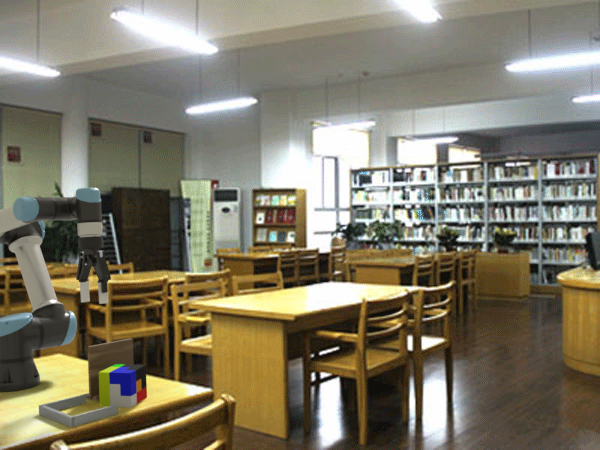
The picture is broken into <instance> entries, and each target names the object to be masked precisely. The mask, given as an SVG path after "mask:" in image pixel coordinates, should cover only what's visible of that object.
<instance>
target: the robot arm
mask: <svg viewBox="0 0 600 450" xmlns="http://www.w3.org/2000/svg"><path fill="white" fill-rule="evenodd" d="M74 220H75V221H77V223H76V224H77V225H76V226H77V227H76V228H77V236H78V239H77V242H78V249H79V250H83V251H79V252H78V262H77V263H78V265H77V269H76V270H77V271H76V277H75V278H76V280H77V281H78V282H79V290H80V292H79V293H80V303H88V302H90V301H91V299H90V298H91V296H90V279H89V276H90V273H91V269H92V267H93V270H94V272H95V275H96V276H97V279H98V280H97V284H98V285H97V287H98V288H97V291H98V303H99V305H102V304H109V303H110V302H109V286H108V282H109V281H111V280H112V275H111V272H110V270H109V266H108V263H107V258H106V253H105V252H106V251H105V250H100V249H103V248H104V237H103V236H101V235H103V229H104V225H103V215H102V198H101V191H100V189H99V188H97V187H82V188H81V187H80V188H77V189H76V190H75V195H74V196H70V197H69V196H68V197H66V196H65V197H64V196H62V197H61V196H59V197H58V196H53V197H51V196H49V197H48V196H47V197H46V196H45V197H43V196H21V197H17V198H16V199H15V201H14V202H13V205H9V206H7V207H5V208H1V209H0V245H2V244H3V245H7V247H8V250H9V251H10V252H11V253H14V254H15V257H16V259H17V261H16V262H18V263H17V264H18V267H19V270H20V273H21V276H22V279H23V281H24V282H23V283H24V286H25V289H26V291H27V295H28V298H29V302H30V305H31V307H32V308H31V309H32V310H31V312H20V313H12V314H8V315H5V316H2V317H0V392H14V391H20V390H26V389H30V388H33V387H35V386H38V385H39V384H40V383H41V376H40V372H39V370H38V368H37V365H36V362H35V359H34V351H39V350H44V349H49V348H55V347H58V348H59V347H61V346H65V345H69V344H71V343H72V342H73V341H74V339H75V337H76V333H77V328H78V323H77V317H76V315H75V313H74V312H73V311H72V310H66V307H65V304H64V303H63V302H60V301H58V297H57V295H56V292H55V289H54V285H53V283H52V280H51V275H50V274H49V271H48V267H47V264H46V261H45V259H44V255H43V252H42V249H41V245H42V243H43V241H44V239H45V235H46V231H45V229H46V227H45V223H44V222H45V221H65V222H71V221H74Z"/></svg>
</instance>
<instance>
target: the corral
mask: <svg viewBox="0 0 600 450" xmlns="http://www.w3.org/2000/svg"><path fill="white" fill-rule="evenodd" d="M87 399H88V398H87V394H86V393H84V394H78V395H74V396H70V397H67V398H63V399H59V400H55V401H51V402H47V403H43V404H39V405H38V415H40V416H43V417H45V418H46V419H47V418H48V419H50V420H52V421H54V422H57V423H59V424H61V425H64V426H66V427H69V428H73V427H77V426H80V425H83V424H88V423H91V422H93V421H94V422H95V421H97V420H101V419H104V418H108V417H112V416H115V415H118V414H119V407H118V405H117V404H115V405H111V406H107V407H106V406H103V407H101V408H97V409H93V410H89V411H86V412H83V413H79V414H75V415H70V414H68V413H65V412H62V411H60V410H65V409H68V408H73V407H76V406H79V405H83V404H87V402H88V401H87Z"/></svg>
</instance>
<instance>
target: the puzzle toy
mask: <svg viewBox="0 0 600 450" xmlns="http://www.w3.org/2000/svg"><path fill="white" fill-rule="evenodd" d="M147 386H148V385H147V364H134V365H133V364H115V365H113V366H111V367H109V368H107V369H105V370H102V371H100V372H99V396H100V400H99V407H106V406H111V405H115V404H117V405H118V408H133V407H134V406H136V405H138V404H139V403H141V402H142V401H144V400H146V399H147V397H148V393H147V392H148V390H147Z"/></svg>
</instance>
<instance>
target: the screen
mask: <svg viewBox="0 0 600 450" xmlns="http://www.w3.org/2000/svg"><path fill="white" fill-rule="evenodd" d="M87 364H88V365H87V370H88V373H87V374H88V392H87V393H85V394H87V399H89V400H92V399H93V401H95V400H96V401H95V402H98V401H100V396H99V372H100V371H102V370H105V369H107V368H109V367H111V366H113V365H115V364H133V365H135V364H134V339H133V338H131V337H130V338H125V339H120V340H115V341H108V342H104V343H99V344H94V345H88V346H87ZM97 400H98V401H97Z"/></svg>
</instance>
